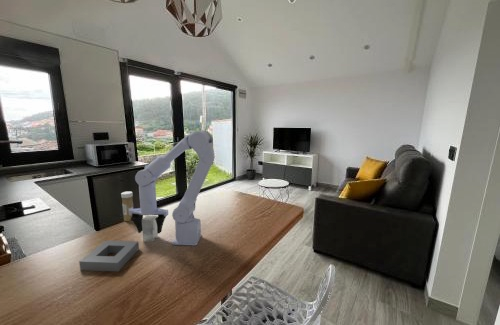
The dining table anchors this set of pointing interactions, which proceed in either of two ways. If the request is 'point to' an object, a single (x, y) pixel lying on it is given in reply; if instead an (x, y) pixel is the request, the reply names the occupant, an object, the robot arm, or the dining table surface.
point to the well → (109, 263)
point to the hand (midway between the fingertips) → (150, 231)
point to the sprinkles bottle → (127, 204)
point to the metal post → (149, 228)
